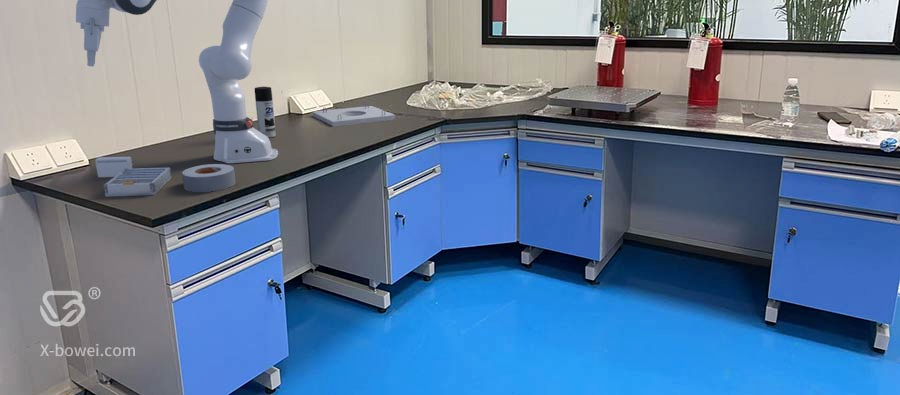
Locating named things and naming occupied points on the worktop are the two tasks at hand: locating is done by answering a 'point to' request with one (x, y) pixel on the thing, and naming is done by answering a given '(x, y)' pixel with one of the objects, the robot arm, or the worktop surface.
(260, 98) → the spray can
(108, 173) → the panel
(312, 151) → the worktop surface
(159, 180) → the rack
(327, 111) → the mounting panel
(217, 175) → the tape roll
